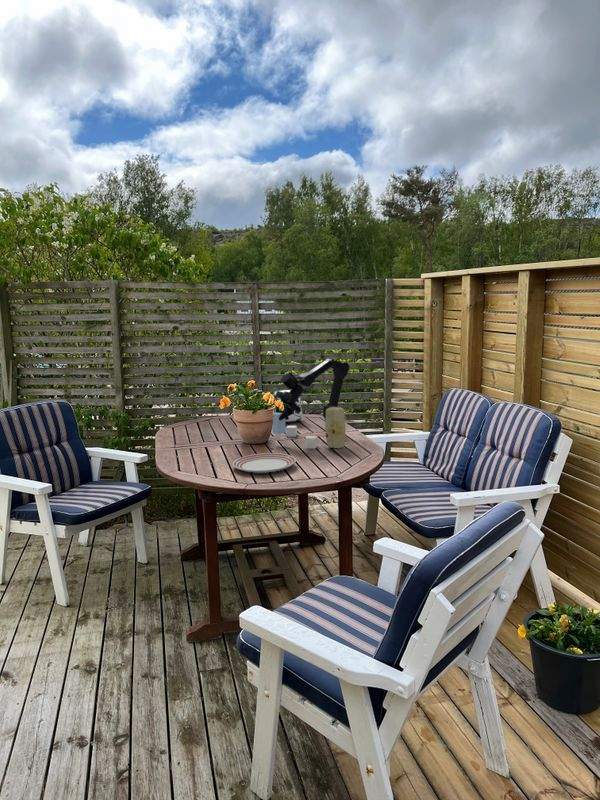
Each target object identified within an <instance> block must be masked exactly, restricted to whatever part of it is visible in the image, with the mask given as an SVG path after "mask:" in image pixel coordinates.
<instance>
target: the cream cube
mask: <svg viewBox="0 0 600 800" xmlns="http://www.w3.org/2000/svg"><path fill="white" fill-rule="evenodd" d="M317 447H318V436H317V435H316V436H315V435H313V436H312V435H311V436H310V435H307V436H306V437H305V449H316V448H317Z"/></svg>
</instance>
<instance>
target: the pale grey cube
mask: <svg viewBox="0 0 600 800" xmlns="http://www.w3.org/2000/svg"><path fill="white" fill-rule="evenodd" d="M285 429H286V433H285V437H286V436H288V438H289V437H290V438H295V437H297V436H296V435H298V426H297V425H287V426H285Z"/></svg>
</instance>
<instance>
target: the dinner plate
mask: <svg viewBox="0 0 600 800" xmlns="http://www.w3.org/2000/svg"><path fill="white" fill-rule="evenodd" d="M296 461H297V459H296V458H295V456H292V455H290V454H286V453H279V452H278V453H277V452H264V453H256V454H250V455H246V456H241V457H239V458H237V459H235V460H234V461H233V462H232V467H233V468H235V469H237V470H240V471H243V472H248V473H251V472H253V473H252V474H270V473H269V472H273V473H277V472H276V471H278V472H280V470H281V471H283V470H286V469H288V468H290V467H291V466H293V465H294V464H295V463H296Z"/></svg>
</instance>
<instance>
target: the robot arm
mask: <svg viewBox="0 0 600 800" xmlns="http://www.w3.org/2000/svg"><path fill="white" fill-rule="evenodd" d="M329 369H332V370H333V371H332V373H333V377H334V378H333V382H332V386H331V391H330V396H329V400H328V403H327V405H324V406H323V408H322V412H321V413H322V417H323V419H324V420H325V419H326V409H328V408H330V407H339V401H340V396H341V392H342V387H343V383H344V379H345V377H346V376H348V373H349V371H350V365H349V363H348V362H346V361H339V360H335V359H333V358H326V359H324V361H323V362H321V363H320V364H318V365H316V366H315V367H314V368H312V369H311V370H309V371H306V372H302V373H301V374H299V375H297V377H295V376H294V375H293V373H292V372H290V371H289V372H287V373H286V374H285V375H283V376H282V377H281V378H280V382H281V383H282V385H283V386H284V387H286V389H287V390H290V392H286V391H285V392H280V391H281V390H277V393H276V395H275V394H274V395H275V397H276V398H280V399H281V401H282V402H283V405H284V410H283V411H279V409H278V407H276V410H275V413H278V412H282V414H281V416H280V418H279V420H280V421H281V420H282V419H284V418H286V417H288V416H290V415H292V414H294V411H295V413H297V414H299V413H300V411H301V409H302V407H301V408H300V407H299V406H298V405H297V404H296V402H298V401H299V400H298V399H299V397H300V398H301V395H303V394H308V390H307V388H305V387H311V385H312V384H313V383H314V382H315V380H316V379H317V378H318V377H319V376H320V375H322V374H324V373H325V372H327V370H329ZM274 399H275V398H274ZM275 400H276V401H277V400H279V399H275Z"/></svg>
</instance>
